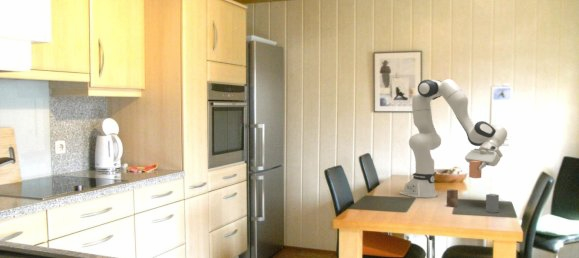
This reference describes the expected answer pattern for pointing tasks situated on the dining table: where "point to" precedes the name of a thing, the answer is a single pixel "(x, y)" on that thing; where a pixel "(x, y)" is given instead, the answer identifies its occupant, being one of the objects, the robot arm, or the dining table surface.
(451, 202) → the walnut bar
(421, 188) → the robot arm
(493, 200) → the charcoal bar
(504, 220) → the dining table surface
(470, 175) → the terracotta bar
